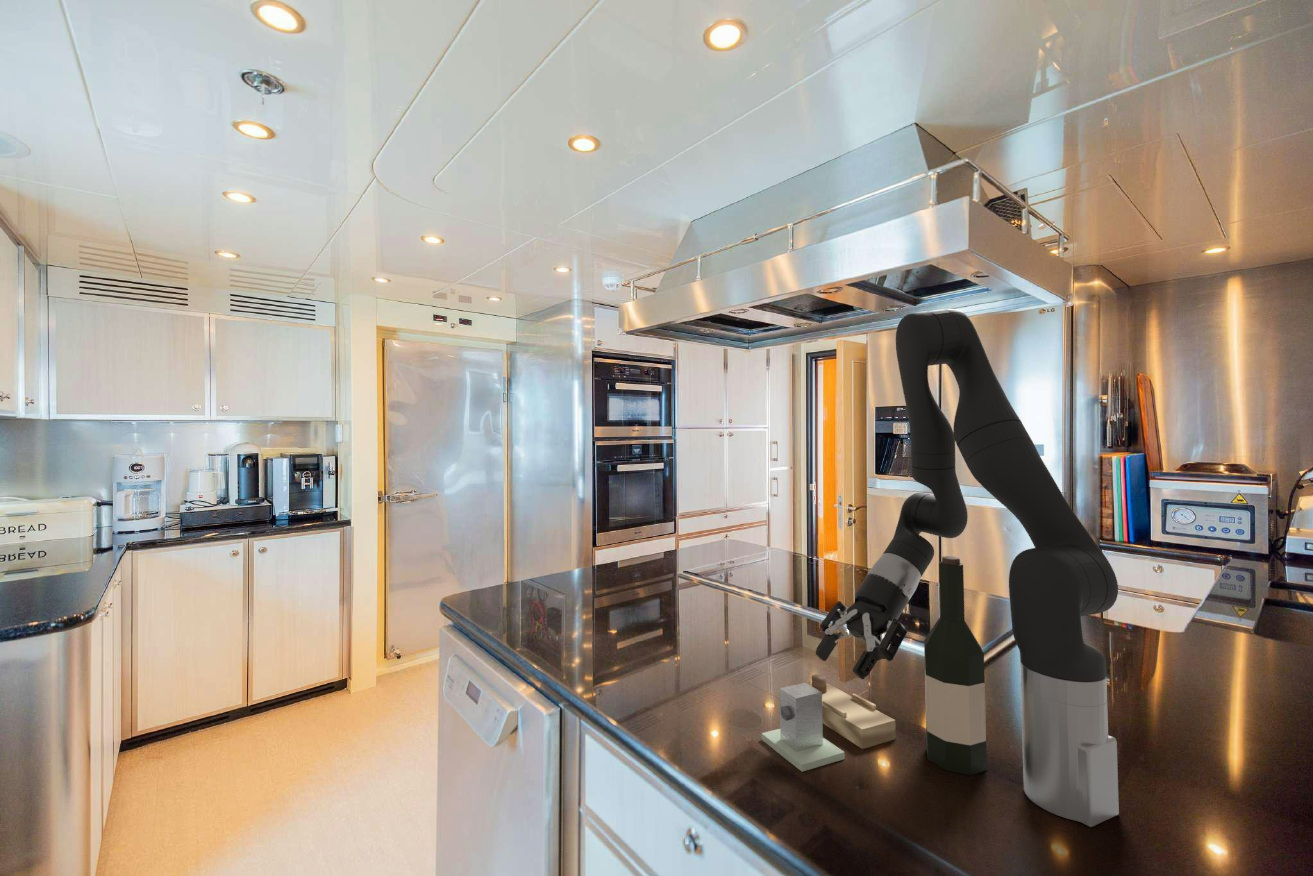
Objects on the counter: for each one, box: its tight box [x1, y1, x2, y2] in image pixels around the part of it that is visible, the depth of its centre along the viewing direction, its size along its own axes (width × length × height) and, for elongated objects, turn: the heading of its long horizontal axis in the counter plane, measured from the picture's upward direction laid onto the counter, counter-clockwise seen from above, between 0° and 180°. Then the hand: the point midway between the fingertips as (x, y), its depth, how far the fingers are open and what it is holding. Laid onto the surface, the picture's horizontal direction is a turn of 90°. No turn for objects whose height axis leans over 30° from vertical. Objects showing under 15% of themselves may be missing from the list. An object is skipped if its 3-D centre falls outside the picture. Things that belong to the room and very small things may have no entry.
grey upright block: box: [779, 682, 824, 752], centre depth 87 cm, size 4×6×8 cm
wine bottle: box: [923, 555, 988, 776], centre depth 84 cm, size 8×8×30 cm
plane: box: [811, 673, 897, 750], centre depth 95 cm, size 16×7×5 cm, turn 24°
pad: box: [761, 728, 846, 772], centre depth 87 cm, size 10×8×1 cm
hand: (837, 666), depth 90 cm, fingers open, 8 cm apart
